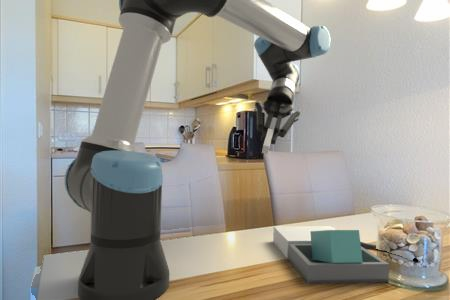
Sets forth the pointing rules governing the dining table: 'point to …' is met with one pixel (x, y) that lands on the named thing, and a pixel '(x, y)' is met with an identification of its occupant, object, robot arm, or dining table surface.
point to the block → (336, 246)
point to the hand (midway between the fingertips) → (265, 149)
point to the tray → (337, 267)
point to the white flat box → (294, 235)
